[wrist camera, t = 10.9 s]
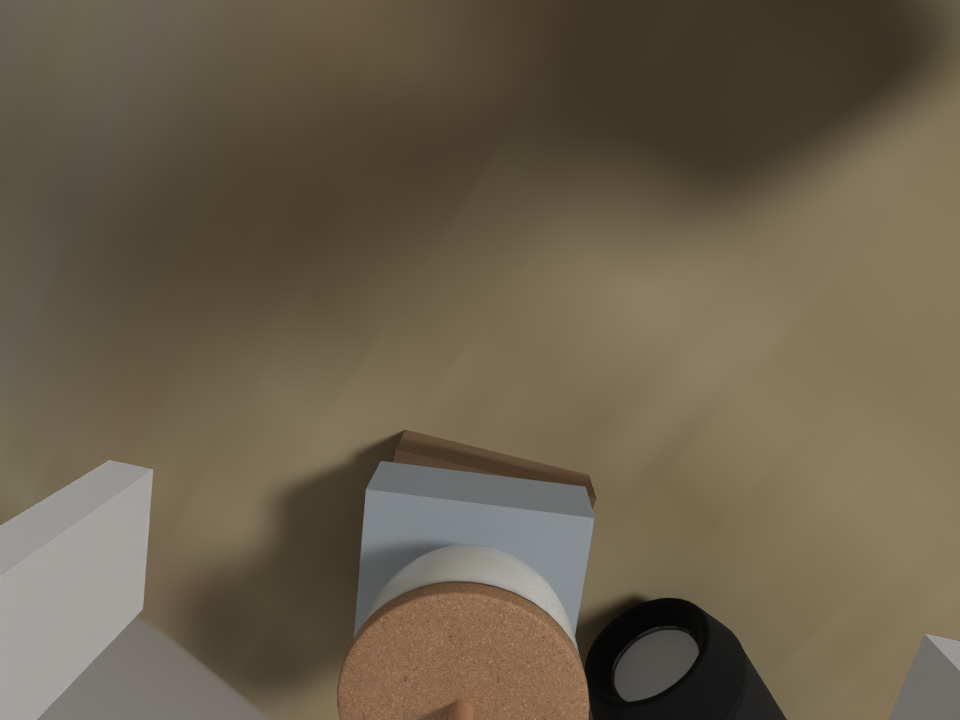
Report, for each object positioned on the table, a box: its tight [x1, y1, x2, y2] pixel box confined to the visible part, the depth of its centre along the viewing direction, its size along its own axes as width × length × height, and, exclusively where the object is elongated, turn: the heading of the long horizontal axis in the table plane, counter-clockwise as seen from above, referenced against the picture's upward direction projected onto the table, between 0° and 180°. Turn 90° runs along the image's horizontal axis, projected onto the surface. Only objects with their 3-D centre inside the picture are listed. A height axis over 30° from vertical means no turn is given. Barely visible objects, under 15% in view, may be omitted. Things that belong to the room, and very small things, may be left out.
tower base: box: [393, 430, 596, 510], centre depth 40 cm, size 12×12×4 cm
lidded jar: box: [337, 544, 589, 720], centre depth 30 cm, size 11×11×9 cm
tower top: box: [354, 461, 595, 638], centre depth 36 cm, size 12×12×4 cm
